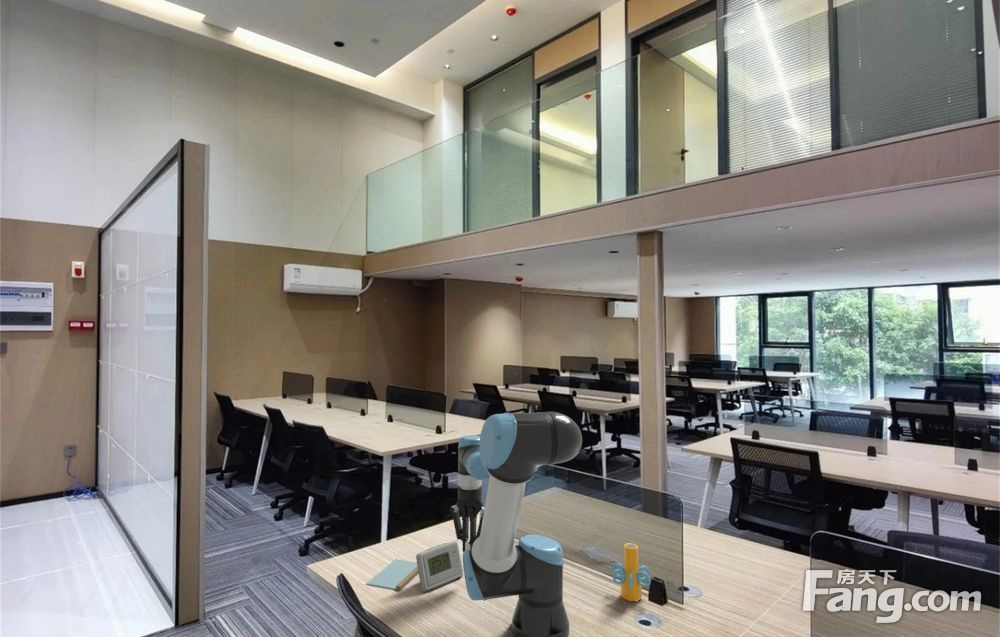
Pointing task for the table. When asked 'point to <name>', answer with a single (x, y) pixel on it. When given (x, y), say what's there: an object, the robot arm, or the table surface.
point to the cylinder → (631, 574)
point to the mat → (395, 575)
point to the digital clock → (439, 565)
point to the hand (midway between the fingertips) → (468, 562)
